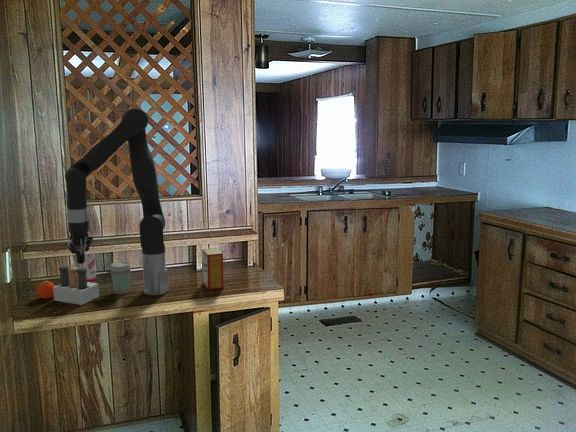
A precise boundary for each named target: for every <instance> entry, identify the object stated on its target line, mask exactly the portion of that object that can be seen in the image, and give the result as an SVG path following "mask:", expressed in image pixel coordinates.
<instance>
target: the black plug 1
mask: <svg viewBox="0 0 576 432" xmlns="http://www.w3.org/2000/svg"><path fill="white" fill-rule="evenodd" d="M68 268H70V266H68V265H62V266H59V267H58V270H59V275H60V284H61V286H62V287H67V286H69V285H70V283H69V272H68Z"/></svg>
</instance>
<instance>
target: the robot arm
mask: <svg viewBox="0 0 576 432" xmlns="http://www.w3.org/2000/svg"><path fill="white" fill-rule="evenodd" d="M148 124H149V116H148V114H147V112H145V111H144V109H142V108H138V107H132V108H128V109H127V110H125V112H124V113H123V114H122V117H121V121H120V122H119V124H117V126H116V127H115V128H114V129H113V130H112V131H111V132H110V133H109V134H108V135H106V136H105V137H104V138H102V139H101V140H100V141H98V142H97V143H95V145H94V146H92V147H91V149H89V150H88V151H87V152H86V153H85V154H84V155H83V156H82V157H81V158H80V159H79V160H78V161H76V162H75V163H73V164H72V165H71V166H70V167H69V168H68V169H67V170H66V171H65V173H64V179H65V182H66V190H67V194H66V195H67V196H66V206H67V210H66V211H67V214H66V217H67V229H68V230H67V231H68V233H69V234H70V236H69V241H68V242H66V243H65V247H66V248H67V249H68V250H69V252H70V253H71V254H74V255H76V256H75V257H76V262H77V264H79V265H80V264H82V263H84V262H85V252H86V251H88V250H89V247H90V245H91V246H92V242H93V240H94V237H93V236H90V235H89V233H88V232H90V221H89V220H90V219H89V211H88V202H87V201H88V199H87V177H89V176H90V175H91V174H92V173H93V172H95V171H97V170H98V169H100V168H101V167H102V166H103V165H104V164H105V163H106V162H107V161H108V160H109V159H110V158H111V157H112V156H113V155H114V154H115V153H117V151H118V150H119V149H120V148H121V147H122V146H123V145H124V144H125V143H127V144H128V149H129V150H128V151H129V159H130V160H129V163H130V169H131V175H132V180H133V181H132V182H133V184H134V187H135V190H136V192H137V194H138V196H139V198H140V202H141V208H142V219H141V220H140V223H139V240H140V247H141V253H142V255H141V257H142V273H143V275H142V277H143V293H144V294H145V295H148V296H162V295H164V294H165V293H167V292H170V289H169V288H170V286H169V268H167V265H166V263H167V261H166V245H165V241H164V240H165V239H164V229H165V227H166V219H165V216H164V212H163V209H162V204H161V201H160V193H159V192H160V191H159V183H158V177H157V176H158V175H157V171H156V166H155V162H154V157H153V156H152V153H151V150H150V148H149V144H148V140H147V133H146V132H147V131H146V129H147V127H148ZM86 245H87V247H86Z"/></svg>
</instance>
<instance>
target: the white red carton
mask: <svg viewBox="0 0 576 432" xmlns="http://www.w3.org/2000/svg"><path fill="white" fill-rule="evenodd" d="M79 267H80V268H79V269H81V268H85V269H87V272H86V276H87V282H91V283H96V281H97V271H96V256H95V252H94V253H90V254H85V262H84V263H82V264H79Z"/></svg>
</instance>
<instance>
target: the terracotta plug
mask: <svg viewBox="0 0 576 432" xmlns="http://www.w3.org/2000/svg"><path fill="white" fill-rule="evenodd" d="M77 269H79V268H78V267H76V266H72V267H69V268H68V272H69V283H70V288H77V287H79V286H78V273H77V271H76V270H77Z"/></svg>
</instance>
